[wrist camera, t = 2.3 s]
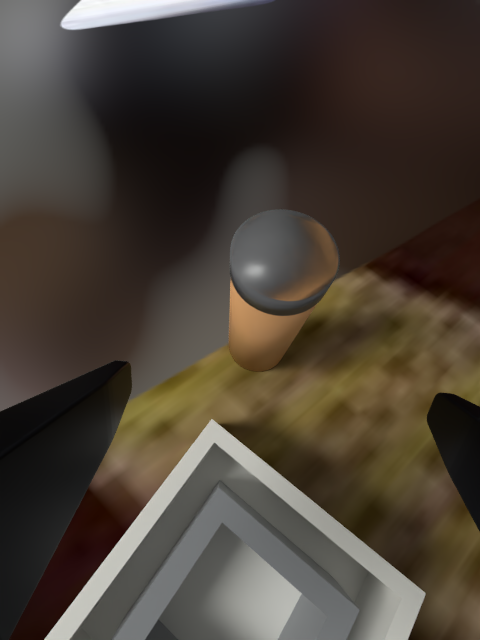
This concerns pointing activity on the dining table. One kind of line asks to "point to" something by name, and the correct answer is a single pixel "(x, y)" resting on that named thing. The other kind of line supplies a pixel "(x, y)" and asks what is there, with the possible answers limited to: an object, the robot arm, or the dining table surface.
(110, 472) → the dining table surface
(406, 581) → the socket box
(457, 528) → the dining table surface
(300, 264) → the plug
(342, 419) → the dining table surface
